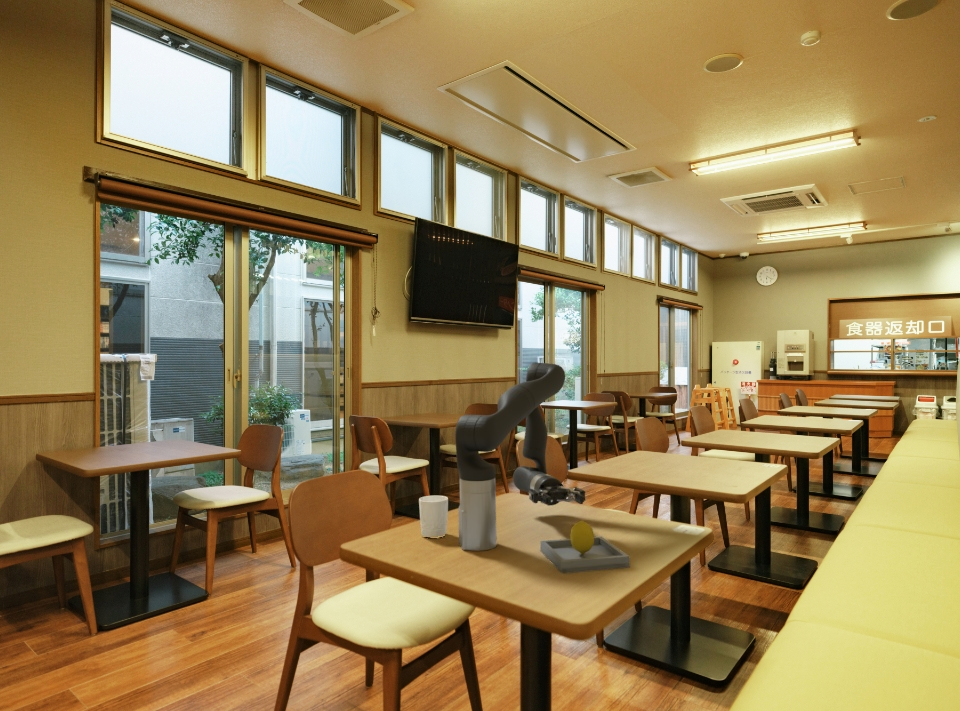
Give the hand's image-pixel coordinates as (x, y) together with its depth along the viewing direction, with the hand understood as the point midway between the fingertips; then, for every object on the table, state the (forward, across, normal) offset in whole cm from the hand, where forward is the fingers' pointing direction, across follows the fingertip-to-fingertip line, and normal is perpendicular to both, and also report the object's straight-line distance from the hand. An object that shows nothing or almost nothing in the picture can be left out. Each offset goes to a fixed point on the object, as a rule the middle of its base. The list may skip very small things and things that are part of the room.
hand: (565, 500), depth 151 cm
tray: (+11, 0, +11) cm, 16 cm away
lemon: (+11, 0, +11) cm, 15 cm away
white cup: (-17, -32, +12) cm, 38 cm away
